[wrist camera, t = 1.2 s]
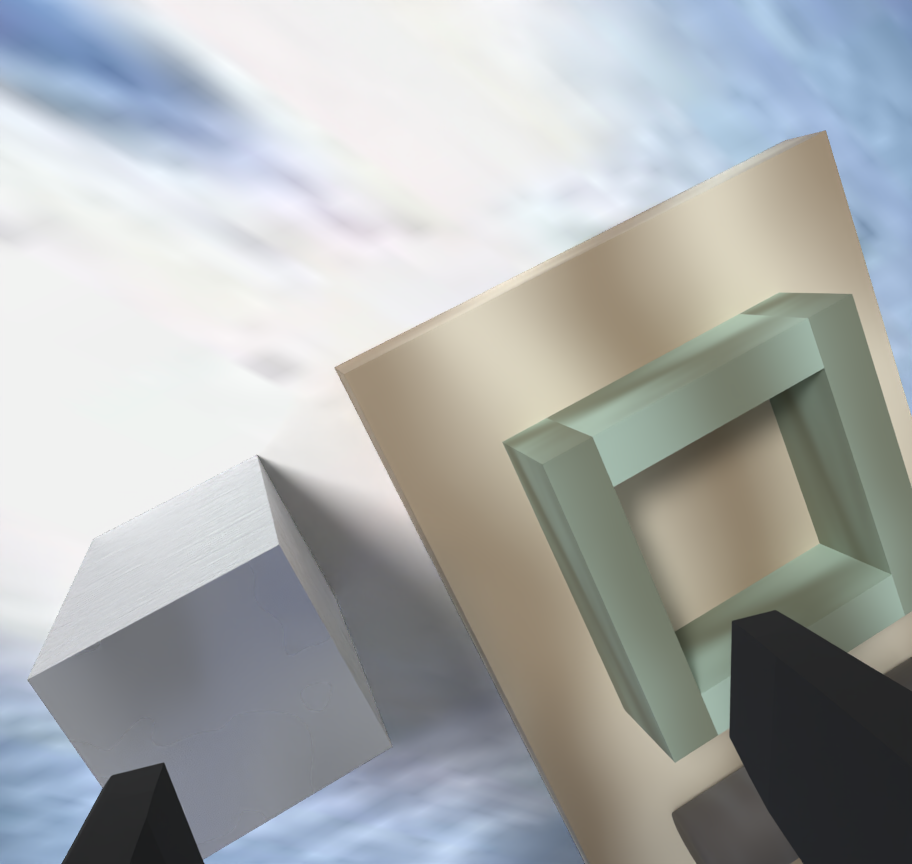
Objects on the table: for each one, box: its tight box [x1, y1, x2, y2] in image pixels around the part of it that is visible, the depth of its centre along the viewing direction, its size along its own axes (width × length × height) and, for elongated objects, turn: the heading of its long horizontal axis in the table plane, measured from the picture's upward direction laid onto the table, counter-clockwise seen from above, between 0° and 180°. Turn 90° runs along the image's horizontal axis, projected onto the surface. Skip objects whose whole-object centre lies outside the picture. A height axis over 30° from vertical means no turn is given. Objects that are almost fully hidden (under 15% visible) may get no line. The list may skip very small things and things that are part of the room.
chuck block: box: [335, 131, 912, 864], centre depth 21 cm, size 13×20×4 cm, turn 25°
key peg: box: [27, 455, 392, 859], centre depth 16 cm, size 4×4×7 cm
